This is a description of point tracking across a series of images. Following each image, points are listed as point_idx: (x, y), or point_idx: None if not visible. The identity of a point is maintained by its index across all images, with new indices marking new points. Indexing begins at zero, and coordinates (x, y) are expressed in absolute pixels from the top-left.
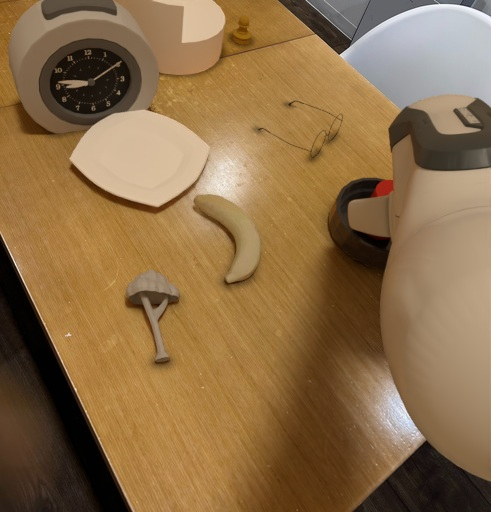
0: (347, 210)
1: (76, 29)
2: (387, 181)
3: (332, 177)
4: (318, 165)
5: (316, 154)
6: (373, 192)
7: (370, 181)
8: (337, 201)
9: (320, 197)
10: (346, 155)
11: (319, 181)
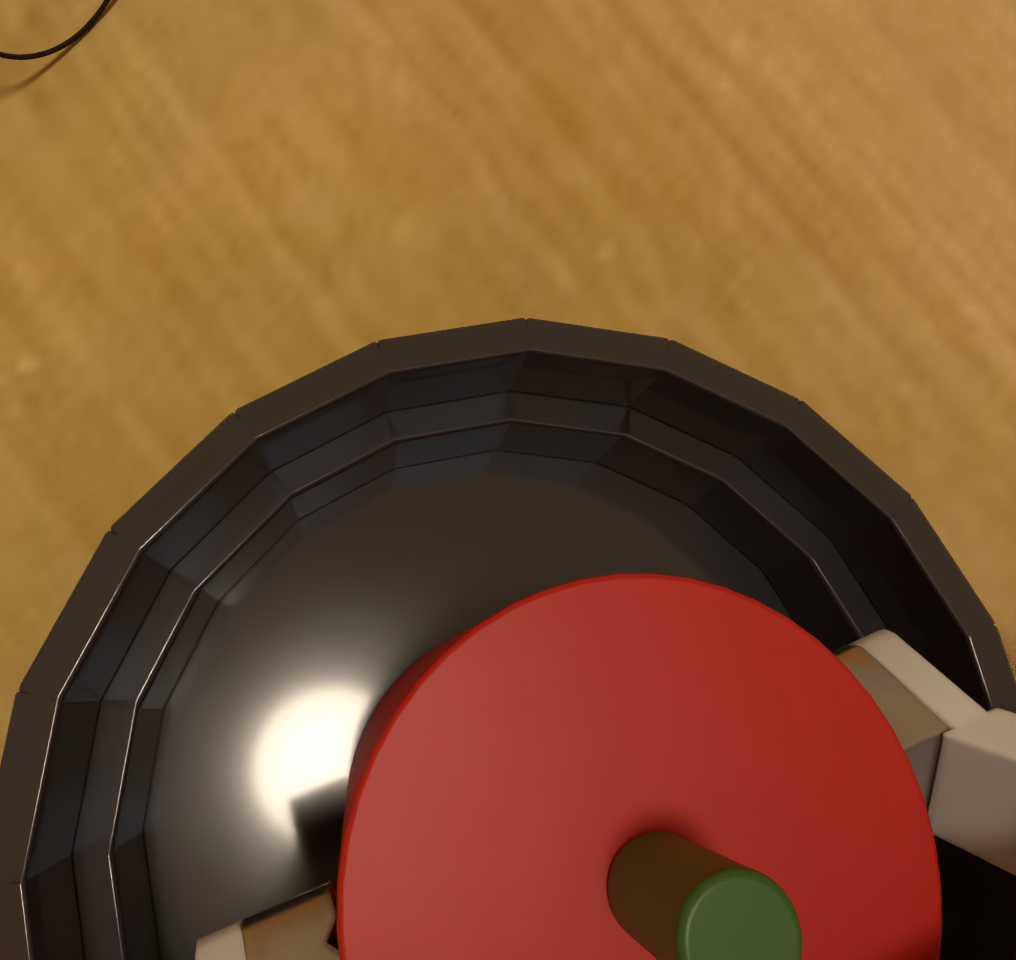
0: (282, 617)
1: None
2: (551, 625)
3: (209, 242)
4: (98, 128)
5: (93, 16)
6: (352, 790)
7: (460, 368)
8: (9, 760)
9: (64, 481)
10: (361, 3)
11: (81, 301)
